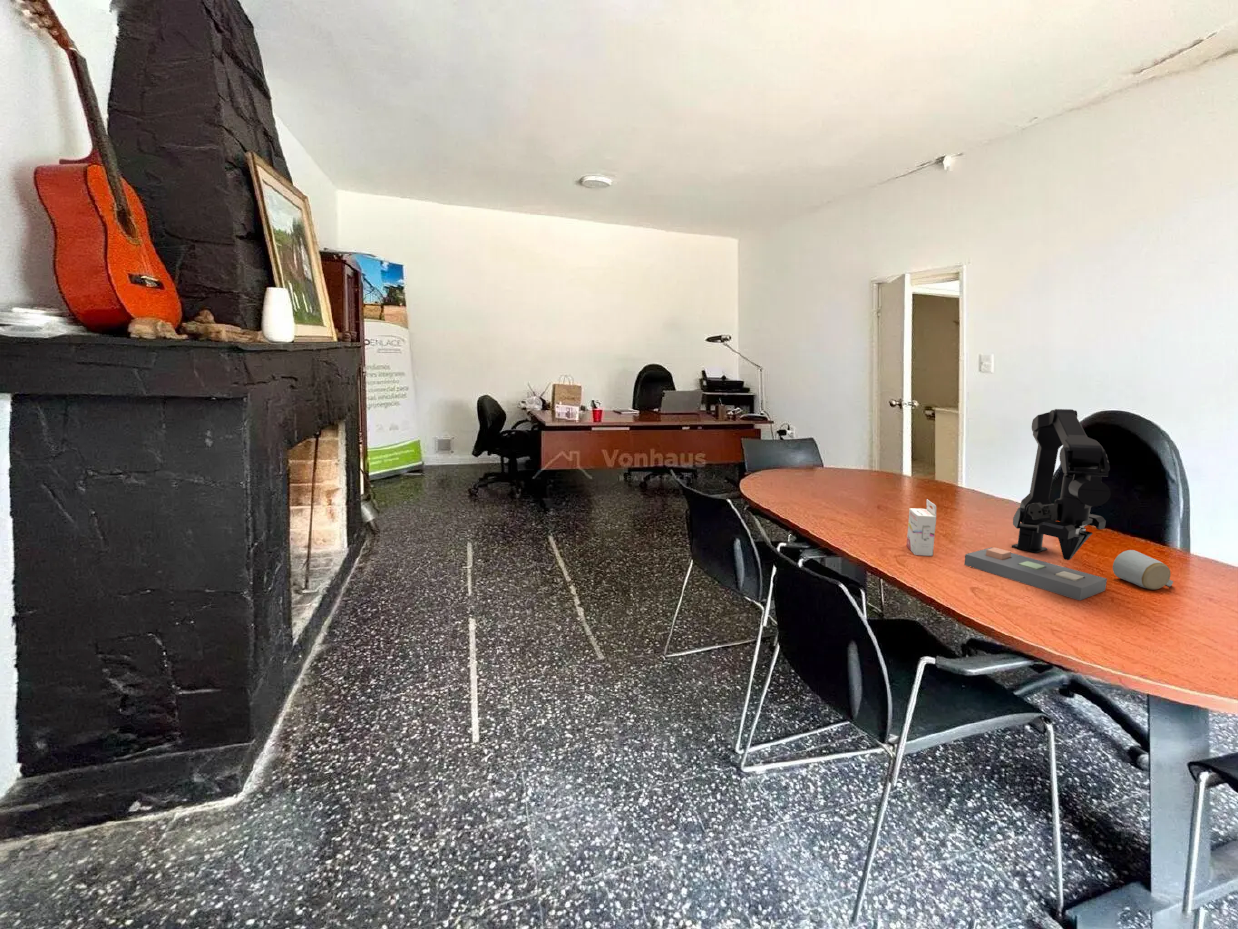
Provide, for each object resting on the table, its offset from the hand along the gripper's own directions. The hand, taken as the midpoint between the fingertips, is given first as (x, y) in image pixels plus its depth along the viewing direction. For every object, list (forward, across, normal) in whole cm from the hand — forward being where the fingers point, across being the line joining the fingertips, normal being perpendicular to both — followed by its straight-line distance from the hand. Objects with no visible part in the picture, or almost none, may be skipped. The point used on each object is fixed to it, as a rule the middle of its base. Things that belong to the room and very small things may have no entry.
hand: (1066, 559), depth 132 cm
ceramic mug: (+7, -19, +9) cm, 22 cm away
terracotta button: (+5, 0, -15) cm, 16 cm away
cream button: (+6, 0, +1) cm, 6 cm away
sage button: (+6, 0, -7) cm, 9 cm away
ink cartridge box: (+7, +6, -33) cm, 34 cm away
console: (+7, 0, -7) cm, 10 cm away
